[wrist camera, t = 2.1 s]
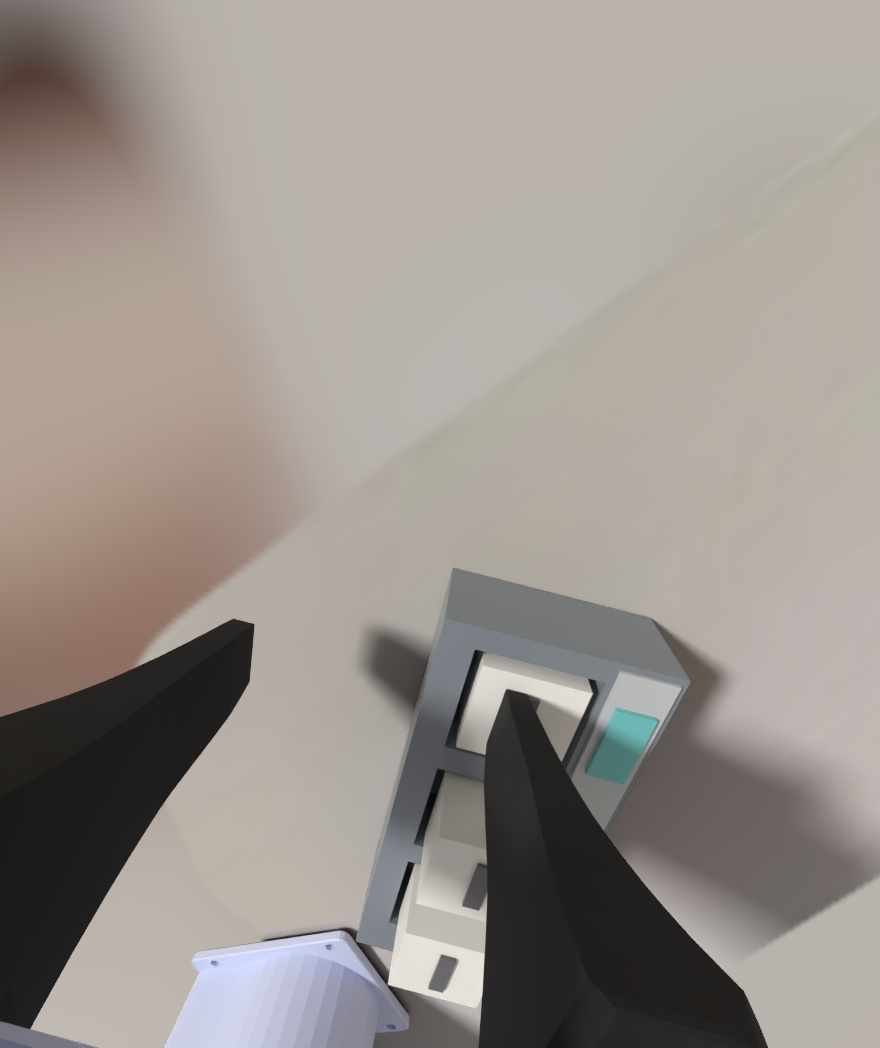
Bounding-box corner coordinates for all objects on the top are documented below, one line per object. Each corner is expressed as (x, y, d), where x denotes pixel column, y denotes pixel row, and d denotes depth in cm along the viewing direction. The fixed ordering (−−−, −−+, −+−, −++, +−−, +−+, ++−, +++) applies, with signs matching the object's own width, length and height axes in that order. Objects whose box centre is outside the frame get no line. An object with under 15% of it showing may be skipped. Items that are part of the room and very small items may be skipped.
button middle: (511, 854, 15) (515, 934, 13) (425, 831, 15) (415, 907, 13) (538, 793, 14) (548, 869, 12) (445, 768, 14) (438, 840, 12)
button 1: (477, 931, 16) (476, 1012, 14) (399, 910, 16) (387, 989, 14) (499, 881, 15) (501, 962, 13) (415, 859, 15) (405, 936, 13)
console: (517, 896, 20) (523, 995, 17) (374, 858, 20) (353, 949, 17) (650, 618, 14) (695, 688, 11) (453, 567, 14) (443, 623, 11)
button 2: (547, 718, 15) (556, 776, 13) (460, 695, 15) (455, 750, 13) (577, 645, 14) (593, 696, 12) (483, 621, 14) (482, 667, 12)
